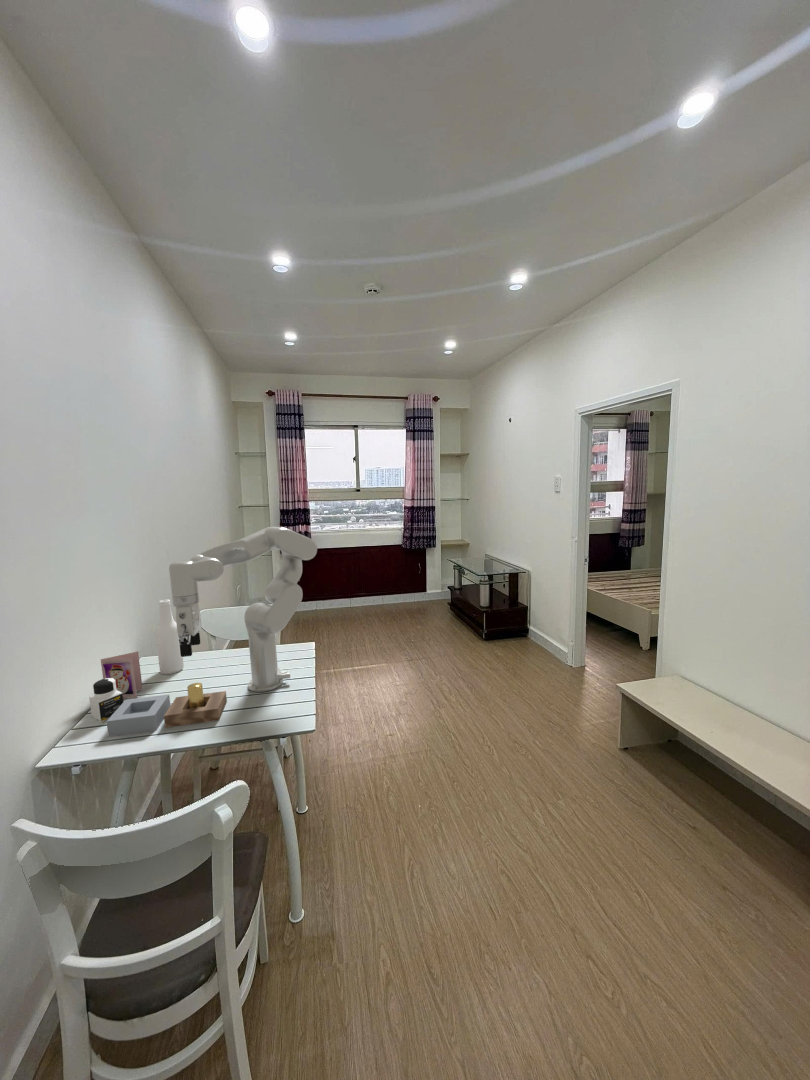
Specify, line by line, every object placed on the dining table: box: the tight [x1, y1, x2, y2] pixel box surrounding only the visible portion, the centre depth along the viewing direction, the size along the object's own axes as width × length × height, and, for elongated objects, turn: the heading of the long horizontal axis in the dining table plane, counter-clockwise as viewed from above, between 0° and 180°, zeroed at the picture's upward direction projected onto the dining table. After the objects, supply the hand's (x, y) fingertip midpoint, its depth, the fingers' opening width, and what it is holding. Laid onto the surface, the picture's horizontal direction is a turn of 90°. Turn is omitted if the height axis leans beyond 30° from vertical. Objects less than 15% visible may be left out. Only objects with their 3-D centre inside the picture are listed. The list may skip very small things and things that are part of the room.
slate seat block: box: [105, 693, 171, 737], centre depth 135 cm, size 13×13×5 cm
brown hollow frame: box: [163, 690, 228, 728], centre depth 139 cm, size 16×12×4 cm
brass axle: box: [186, 682, 204, 709], centre depth 139 cm, size 4×4×10 cm
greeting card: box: [100, 651, 143, 699], centre depth 153 cm, size 11×7×15 cm, turn 90°
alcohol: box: [155, 598, 185, 675], centre depth 172 cm, size 9×9×30 cm
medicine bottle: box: [88, 678, 124, 722], centre depth 140 cm, size 7×7×12 cm
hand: (191, 650), depth 136 cm, fingers open, 9 cm apart
